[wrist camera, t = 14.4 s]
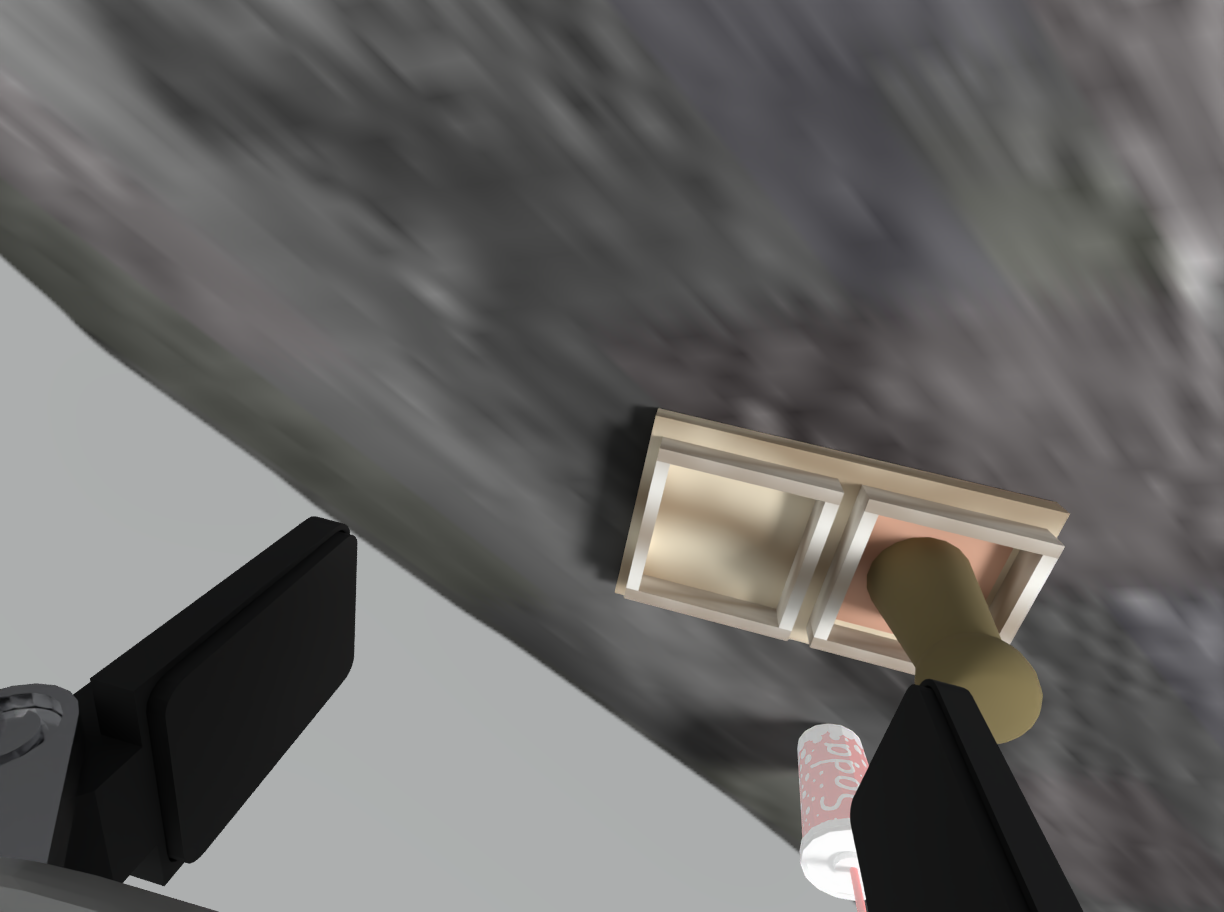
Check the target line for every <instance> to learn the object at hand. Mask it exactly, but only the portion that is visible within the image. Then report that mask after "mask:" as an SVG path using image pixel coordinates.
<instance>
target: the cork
mask: <svg viewBox="0 0 1224 912" xmlns="http://www.w3.org/2000/svg"><path fill="white" fill-rule="evenodd" d="M867 590H868V593H869V595H870V598H871V600H872V602H873V603H874V605H875V606H876V608H877V610H878V611H879V613H880V614H881V616H882V617H883V619H884V620H885V622H886V623H887V625H888V626H889V628H890V629H891V631H892V633H893V634H894V636H895V637H896V639H897V640H898V642H899V643H900V645H901V646H902V648H903V649H904V651H905V653H906V654H907V656H908V657H909V659H910V660H911V662H912V663H913V665H914V666H915V685H920V684H921V682H922V681H924V680H925V679H933V680H937V681H941V682H944V683H948V684H952V685H956V686H960V687H963V688H965V689H967V690H969V692H970V693H971V694H972V696H973V698H974V700H975V702H976V704H977V706H978V708H979V710H980V712H981V714H982V716H983V717H984V719H985V721H986V723H987V725H988V727H989V729H990V731H991V733H992V735H993V737H994V739H995V741H996V743H997V744H1000V743H1005V742H1008V741H1011V740H1013V739H1015V738H1017V737H1020V736H1021V735H1023V734H1024V733H1025V732H1026V731H1028V730H1029V729H1030V728H1031V727H1032V726H1033V725H1034V723H1035V721H1036V720H1037V718H1038V716H1039V714H1040V710H1041V704H1042V697H1043V694H1042V691H1041V687H1040V684H1039V680H1038V677H1037V674H1036V672H1035V670H1034V669H1033V667H1032V666H1031V665H1030V663H1029V662H1028V661H1027V660H1026V659H1025V657H1024V656H1023V655H1022V654H1021V653H1020V652H1019V651H1018V650H1017V649H1015V648H1014V647H1013V646H1011V645H1010V644H1008V643H1006V642H1004V641H1003V640H1001V637H1000V635H999V632H998V630H997V627H996V625H995V623H994V620H993V618H992V615H991V613H990V610H989V608H988V606H987V603H986V601H985V598H984V596H983V593H982V591H981V589H980V586H979V584H978V581H977V579H976V576H975V574H974V571H973V569H972V567H971V564H970V562H969V560H968V558H967V557H966V556H965V555H964V554H963V553H962V551H961V550H960V549H959V548H957V547H955V546H954V545H952V544H950V543H949V542H947V541H944V540H940V539H936V538H931V537H915V538H909V539H906V540H902V541H899V542H896V543H894V544H893V545H891V546H889V547H888V548H886V549H884V550H883V551H882V552H881V553H880V554H879V555H878V556H877V557H876V558H875V560H874V561H873V562H872V564H871V566H870V569H869V571H868V574H867Z"/></svg>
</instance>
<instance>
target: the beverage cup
mask: <svg viewBox="0 0 1224 912" xmlns="http://www.w3.org/2000/svg"><path fill="white" fill-rule="evenodd" d="M797 750H798V767H799V784H800V801H801V818H802V834H803V838H802V841H801V847H800V855H801V857H800V864H801V867H802V869H803V872H804V874H805V877H806V878H807V879H808V880H809V881H810V882H811V883H812V884H813V885H814V886H815V887H816V888H817V889H819V890H821V891H823V892H825V893H827V894H830V895H832V896H834V897H837V898H843V899H848V900H854V901H856V906H857V911H858V912H866V907H865V903H864V900H866V897H865V892H864V887H863V882H862V877H861V873H860V868H859V863H858V858H857V853H856V848H855V844H854V839H853V834H852V829H851V824H850V807H851V803H852V799H853V797H854V795H855V793H856V791H857V789H858V787H859V785H860V783H861V781H862V779H863V777H864V775H865V773H866V771H867V769H868V767H869V765H868V762H867V759H866V756H865V753H864V750H863V747H862V744H861V741H860V738H859V737H858V736H857V735H856V734H855V733H854V732H853V731H852V730H850V729H848V728H845V727H843V726H841V725H835V724H821V725H815V726H813V727H811V728H810V729H808V730H806V731H805V732H804V733H803V734H802V735H801V737H800V738H799V741H798V747H797Z"/></svg>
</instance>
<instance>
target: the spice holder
mask: <svg viewBox="0 0 1224 912" xmlns="http://www.w3.org/2000/svg"><path fill="white" fill-rule="evenodd" d="M1069 515H1070V514H1069V513H1068V512H1067V511H1066V510H1065V509H1064V508H1063V507H1061V506H1060V505H1059V504H1058V503H1057V502H1053V501H1049V500H1044V499H1040V498H1036V497H1032V496H1028V495H1023V494H1019V493H1015V492H1011V491H1006V490H1002V489H998V488H994V487H989V486H985V485H981V484H977V483H973V482H968V481H964V480H960V479H956V478H951V477H947V476H943V475H939V474H935V473H930V472H926V471H922V470H918V469H913V468H909V467H905V466H901V465H897V464H892V463H888V462H884V461H880V460H875V459H871V458H867V457H863V456H859V455H854V454H850V453H846V452H842V451H837V450H833V449H829V448H825V447H821V446H816V445H812V444H808V443H804V442H799V441H795V440H791V439H787V438H783V437H778V436H774V435H770V434H766V433H761V432H757V431H753V430H749V429H744V428H740V427H736V426H732V425H728V424H723V423H719V422H715V421H711V420H706V419H702V418H698V417H694V416H690V415H685V414H681V413H677V412H673V411H668V410H664V409H660V408H658V411H657V414H656V417H655V421H654V426H653V430H652V434H651V439H650V443H649V447H648V451H647V456H646V460H645V464H644V469H643V473H642V477H641V482H640V486H639V490H638V494H637V499H636V503H635V507H634V512H633V516H632V520H631V525H630V529H629V533H628V538H627V542H626V546H625V550H624V555H623V559H622V563H621V568H620V572H619V576H618V581H617V585H616V589H615V593H618V594H622V595H624V598H626V599H630V600H633V601H637V602H641V603H645V604H649V605H652V606H656V607H660V608H664V609H668V610H671V611H675V612H679V613H683V614H686V615H690V616H694V617H698V618H702V619H705V620H709V621H713V622H717V623H721V624H724V625H728V626H732V627H736V628H739V629H743V630H747V631H751V632H755V633H758V634H762V635H766V636H770V637H774V638H777V639H781V640H785V641H788V639H792V640H796V641H800V642H804V643H807V644H809V646H810V647H811V648H815V649H819V650H823V651H827V652H830V653H834V654H838V655H842V656H845V657H849V658H853V659H857V660H861V661H864V662H868V663H872V664H876V665H880V666H883V667H887V668H891V669H895V670H898V671H902V672H906V673H910V674H914V675H915V666H914V665H913V663H912V662H911V660H910V659H909V657H908V656H907V654H906V653H905V651H904V649H903V648H902V646H901V645H900V643H899V642H898V640H897V639H896V637H895V636H894V634H893V633H892V631H891V629H890V628H889V626H888V625H887V623H886V622H885V620H884V619H883V617H882V616H881V614H880V613H879V611H878V610H877V608H876V606H875V605H874V603H873V602H872V600H871V598H870V595H869V593H868V590H867V574H868V571H869V569H870V566H871V564H872V562H873V561H874V560H875V558H876V557H877V556H878V555H879V554H880V553H881V552H882V551H883V550H884V549H886V548H888V547H889V546H891V545H893V544H894V543H896V542H899V541H902V540H906V539H909V538H915V537H931V538H936V539H940V540H944V541H947V542H949V543H950V544H952V545H954V546H955V547H957V548H959V549H960V550H961V551H962V553H963V554H964V555H965V556H966V557H967V558H968V560H969V562H970V564H971V567H972V569H973V571H974V574H975V576H976V579H977V581H978V584H979V586H980V589H981V591H982V593H983V596H984V598H985V601H986V603H987V606H988V608H989V610H990V613H991V615H992V618H993V620H994V623H995V625H996V627H997V630H998V632H999V635H1000V637H1001V640H1003V641H1004V642H1006V643H1008V644H1010V643H1011V641H1012V639H1013V638H1014V636H1015V634H1016V632H1017V631H1018V629H1019V627H1020V625H1021V623H1022V622H1023V620H1024V618H1025V616H1026V615H1027V613H1028V611H1029V609H1030V608H1031V606H1032V604H1033V602H1034V600H1035V599H1036V597H1037V595H1038V593H1039V592H1040V590H1041V588H1042V586H1043V585H1044V583H1045V581H1046V579H1047V577H1048V576H1049V574H1050V572H1051V570H1052V569H1053V567H1054V565H1055V563H1056V562H1057V560H1058V558H1059V556H1060V554H1061V553H1062V551H1063V549H1064V547H1065V546H1064V545H1063V544H1062V543H1061V542H1060V541H1059V540H1058V539H1057V536H1058V534H1059V533H1060V531H1061V529H1062V527H1063V525H1064V524H1065V522H1066V520H1067V518H1068V516H1069Z"/></svg>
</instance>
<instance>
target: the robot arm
mask: <svg viewBox="0 0 1224 912" xmlns="http://www.w3.org/2000/svg"><path fill="white" fill-rule="evenodd" d="M356 570H357V539H356V537H355V536H354V535H350V530H349V528H348V526H347V525H345V524H343V523H339V522H335V521H331V520H327V519H324V518H320V517H310V518H308V519H306V520H305V521H304V522H302V523H301V524H299V525H298V526H297V527H295V528H294V529H293V530H291V531H290V532H289V533H287V534H286V535H285V536H283V537H282V538H280V539H279V540H278V541H276V542H275V543H274V544H272V545H271V546H269V547H268V548H267V549H265V550H264V551H263V552H261V553H260V554H259V555H257V556H256V557H255V558H253V559H252V560H250V561H249V562H248V563H246V564H245V565H244V566H242V567H241V568H240V569H239V570H237V571H235V572H234V573H233V574H231V575H230V576H229V577H227V578H226V579H225V580H223V581H222V582H220V583H219V584H218V585H216V586H215V587H214V588H212V589H211V590H210V591H208V592H207V593H206V594H204V595H203V596H201V597H200V598H199V599H197V600H196V601H195V602H194V603H192V604H191V605H189V606H188V607H186V608H185V609H184V610H182V611H181V612H180V613H178V614H177V615H176V616H174V617H173V618H172V619H170V620H169V621H167V622H166V623H165V624H163V625H162V626H161V627H159V628H158V629H157V630H155V631H154V632H153V633H151V634H150V635H148V636H147V637H146V638H144V639H143V640H142V641H140V642H139V643H137V644H136V645H135V646H133V647H132V648H131V649H129V650H128V651H127V652H125V653H124V654H123V655H121V656H120V657H118V658H117V659H116V660H114V661H113V662H112V663H110V664H109V665H108V666H106V667H105V668H103V669H102V670H101V671H99V672H98V673H97V674H95V675H94V676H93V677H91V678H90V681H91V682H90V683H88V684H87V685H86V686H84V687H83V688H81V689H80V690H79V691H77V692H76V693H75V694H72V693H71V692H70V691H68V690H66V689H63V688H61V687H58V686H56V685H46V684H27V685H17V686H10V687H7V688H3V689H0V912H217V911H214V910H211V909H208V908H204V907H201V906H198V905H194V904H191V903H187V902H184V901H181V900H177V899H174V898H171V897H167V896H164V895H161V894H157V893H154V892H150V891H147V890H144V889H140V888H137V887H133V886H130V885H127V884H123V882H124V881H125V880H126V879H127V877H128V876H129V875H131V876H134V877H137V878H140V879H144V880H147V881H150V882H153V883H156V884H159V885H162V886H165V885H166V884H167V883H168V881H169V880H170V879H171V878H172V876H173V875H174V874H175V873H176V872H177V870H178V869H179V868H180V867H181V866H182V864H183V863H184V862H185V863H192V862H195V861H196V860H197V859H198V858H199V857H201V855H202V854H203V853H204V852H205V851H206V850H207V848H208V847H209V846H210V845H211V844H212V842H213V841H214V840H215V839H216V837H217V836H218V835H219V834H220V833H221V831H222V830H223V829H224V828H225V826H226V825H227V824H228V823H229V821H230V820H231V819H232V818H233V817H234V815H235V814H236V813H237V811H238V810H239V809H240V808H241V807H242V805H243V804H244V803H245V802H246V801H247V799H248V798H249V797H250V796H251V794H252V793H253V792H254V791H255V789H256V788H257V787H258V786H259V784H260V783H261V782H262V781H263V780H264V778H265V777H266V776H267V775H268V774H269V772H270V771H271V770H272V769H273V767H274V766H275V765H276V764H277V762H278V761H279V760H280V759H281V757H282V756H283V755H284V754H285V753H286V751H287V750H288V749H289V748H290V746H291V745H292V744H293V743H294V741H295V740H296V739H297V738H298V736H299V735H300V734H301V733H302V731H303V730H304V729H305V728H306V727H307V725H308V724H309V723H310V722H311V720H312V719H313V718H314V717H315V716H316V714H317V713H318V712H319V711H320V709H321V708H322V707H323V706H324V705H325V703H326V702H327V701H328V700H329V698H330V697H331V696H332V695H333V693H334V692H335V691H336V690H337V689H338V687H339V686H340V685H341V684H342V682H343V681H344V680H345V678H346V677H347V675H348V673H349V672H350V669H351V667H352V663H353V660H354V639H355V605H356V603H355V602H356V572H357V571H356ZM850 824H851V829H852V834H853V839H854V844H855V848H856V853H857V858H858V863H859V868H860V873H861V877H862V882H863V887H864V892H865V897H866V902H867V906H868V911H869V912H1083V910H1082V908H1081V906H1080V904H1079V902H1078V900H1077V898H1076V896H1075V895H1074V893H1073V891H1072V889H1071V887H1070V885H1069V883H1068V881H1067V879H1066V877H1065V875H1064V873H1063V871H1062V869H1061V867H1060V865H1059V863H1058V861H1057V859H1056V858H1055V856H1054V854H1053V852H1052V850H1051V848H1050V846H1049V844H1048V842H1047V840H1046V838H1045V836H1044V834H1043V832H1042V830H1041V828H1040V826H1039V824H1038V823H1037V821H1036V819H1035V817H1034V815H1033V813H1032V811H1031V809H1030V807H1029V805H1028V803H1027V801H1026V799H1025V797H1024V795H1023V793H1022V791H1021V789H1020V788H1019V786H1018V784H1017V782H1016V780H1015V778H1014V776H1013V774H1012V772H1011V770H1010V768H1009V766H1008V764H1007V762H1006V760H1005V758H1004V756H1003V754H1002V753H1001V751H1000V749H999V747H998V745H997V743H996V741H995V739H994V737H993V735H992V733H991V731H990V729H989V727H988V725H987V723H986V721H985V719H984V717H983V716H982V714H981V712H980V710H979V708H978V706H977V704H976V702H975V700H974V698H973V696H972V694H971V693H970V692H969V690H967V689H965V688H963V687H960V686H956V685H952V684H948V683H944V682H941V681H937V680H933V679H925V680H924V681H922V682H921V684H920V685H915V684H913V685H911V686H910V687H909V688H908V689H907V691H906V693H905V695H904V697H903V699H902V701H901V703H900V705H899V707H898V709H897V711H896V713H895V715H894V717H893V719H892V721H891V723H890V725H889V727H888V729H887V731H886V733H885V735H884V737H883V739H882V741H881V743H880V745H879V747H878V749H877V751H876V753H875V755H874V757H873V759H872V761H871V763H870V765H869V767H868V769H867V771H866V773H865V775H864V777H863V779H862V781H861V783H860V785H859V787H858V789H857V791H856V793H855V795H854V797H853V799H852V803H851V807H850Z"/></svg>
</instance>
